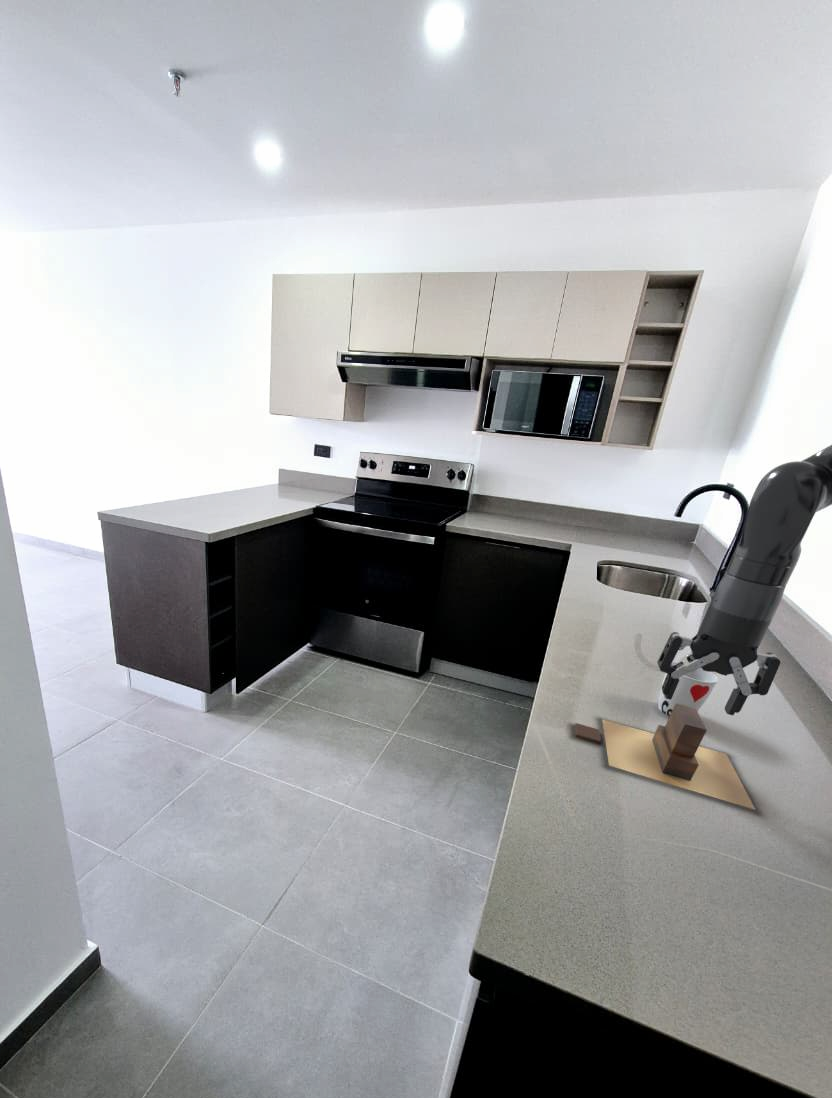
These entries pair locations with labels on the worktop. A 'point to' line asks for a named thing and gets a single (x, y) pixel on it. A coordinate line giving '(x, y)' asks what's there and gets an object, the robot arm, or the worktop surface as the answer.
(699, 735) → the stepped wooden block
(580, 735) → the small brown wooden tile
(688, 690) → the cup
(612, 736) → the board
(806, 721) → the worktop surface
